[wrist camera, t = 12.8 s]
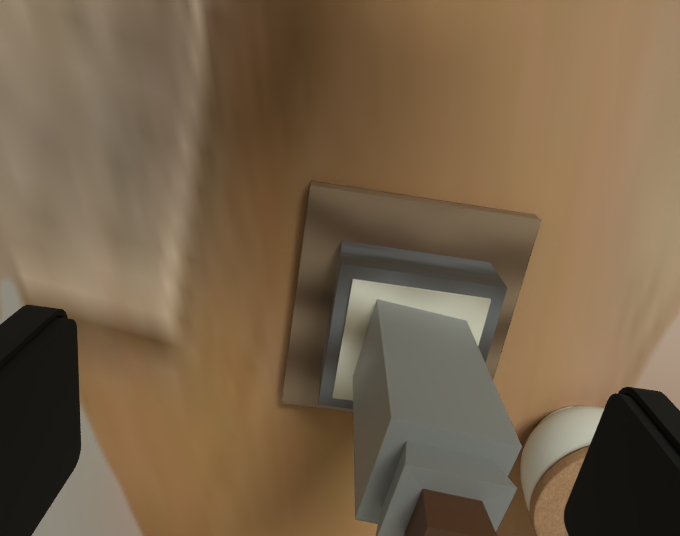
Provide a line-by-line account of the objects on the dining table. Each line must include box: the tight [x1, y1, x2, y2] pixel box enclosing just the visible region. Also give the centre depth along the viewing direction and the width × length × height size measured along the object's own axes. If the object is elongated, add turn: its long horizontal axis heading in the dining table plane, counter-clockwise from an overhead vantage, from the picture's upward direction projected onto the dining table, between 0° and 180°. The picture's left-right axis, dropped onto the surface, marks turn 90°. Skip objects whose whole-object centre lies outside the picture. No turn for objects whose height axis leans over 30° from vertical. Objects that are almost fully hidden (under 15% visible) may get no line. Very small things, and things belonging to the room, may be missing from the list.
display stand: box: [282, 181, 541, 412], centre depth 44 cm, size 20×18×7 cm
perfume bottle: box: [353, 299, 522, 536], centre depth 32 cm, size 7×7×18 cm
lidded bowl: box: [520, 406, 605, 536], centre depth 47 cm, size 13×13×11 cm
